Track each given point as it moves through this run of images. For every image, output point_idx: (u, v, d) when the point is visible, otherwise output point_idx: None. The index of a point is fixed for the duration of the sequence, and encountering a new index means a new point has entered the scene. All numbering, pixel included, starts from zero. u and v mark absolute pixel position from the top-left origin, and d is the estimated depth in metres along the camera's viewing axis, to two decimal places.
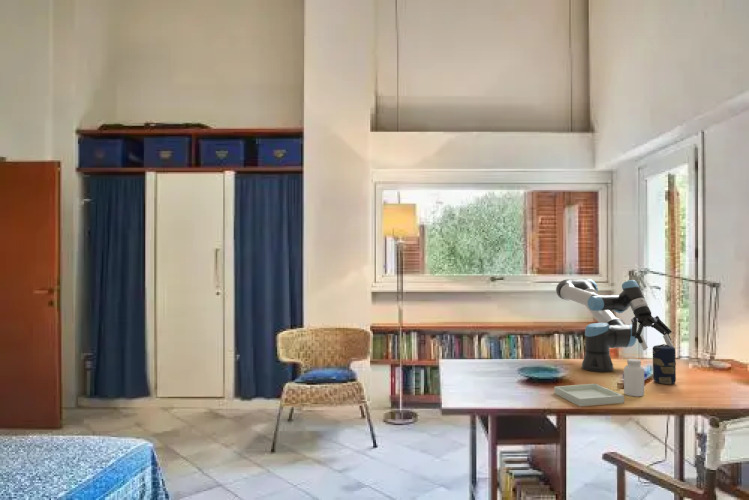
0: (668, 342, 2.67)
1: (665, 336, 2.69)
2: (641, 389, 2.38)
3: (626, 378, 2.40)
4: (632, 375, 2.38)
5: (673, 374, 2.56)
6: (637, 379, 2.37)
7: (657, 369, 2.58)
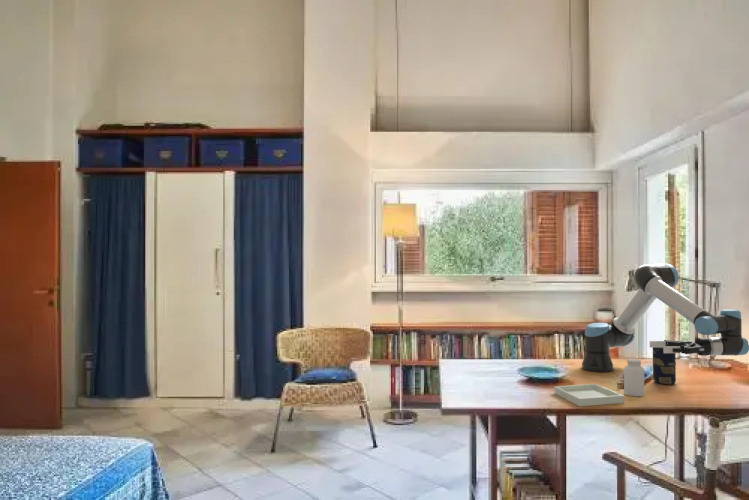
0: (656, 345, 2.47)
1: (663, 344, 2.47)
2: (641, 389, 2.38)
3: (626, 378, 2.40)
4: (632, 375, 2.38)
5: (673, 374, 2.56)
6: (637, 379, 2.37)
7: (657, 369, 2.58)
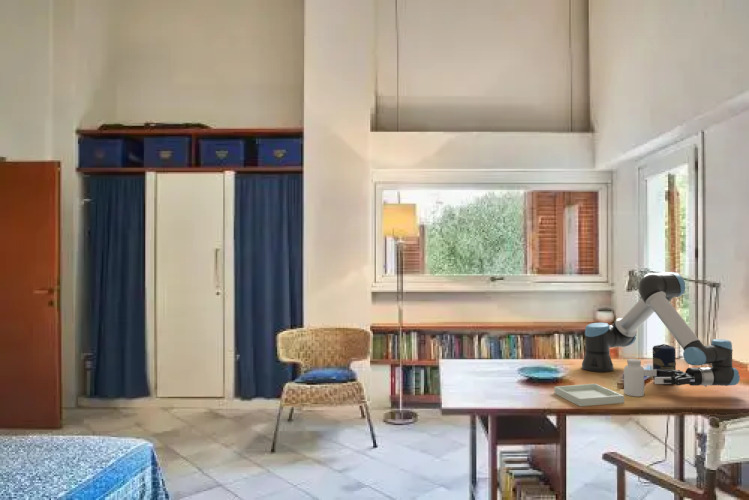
0: (647, 373, 2.47)
1: (654, 373, 2.46)
2: (641, 389, 2.38)
3: (626, 378, 2.40)
4: (632, 375, 2.38)
5: None
6: (637, 379, 2.37)
7: None
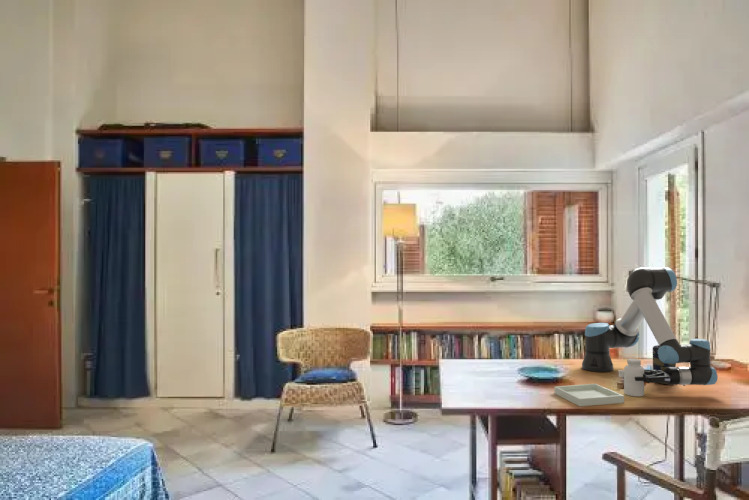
0: None
1: None
2: (641, 389, 2.38)
3: None
4: None
5: None
6: None
7: (657, 369, 2.58)
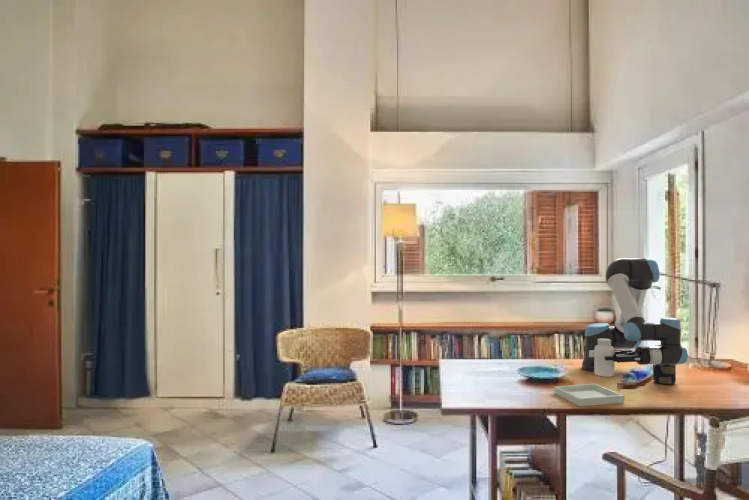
0: None
1: None
2: (611, 368, 2.33)
3: None
4: (602, 354, 2.33)
5: (673, 374, 2.56)
6: None
7: (657, 369, 2.58)
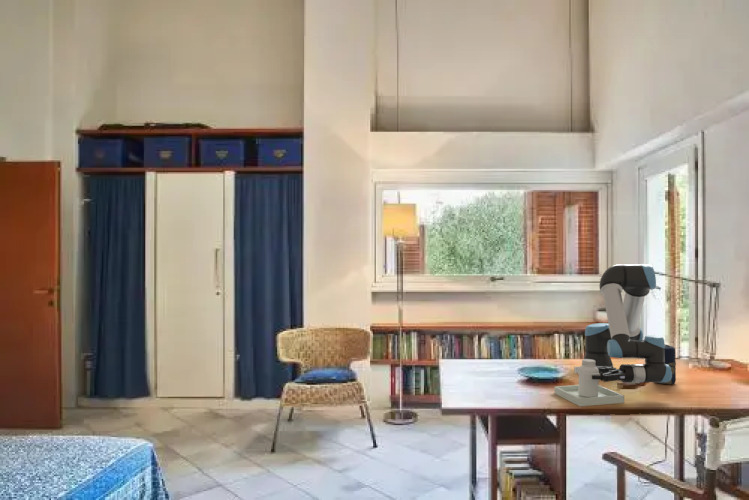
0: None
1: None
2: (595, 390, 2.33)
3: (580, 378, 2.36)
4: None
5: (673, 374, 2.56)
6: None
7: None
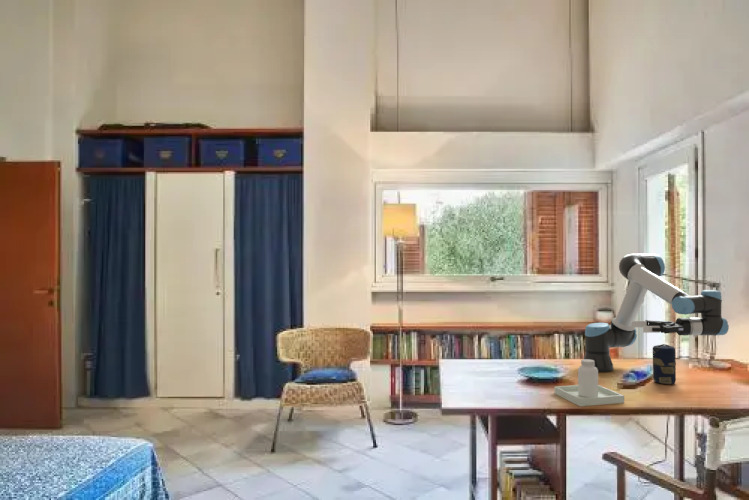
0: (637, 325, 2.49)
1: (644, 324, 2.49)
2: (595, 390, 2.33)
3: (580, 379, 2.36)
4: (585, 375, 2.34)
5: (673, 374, 2.56)
6: (590, 379, 2.33)
7: (657, 369, 2.58)
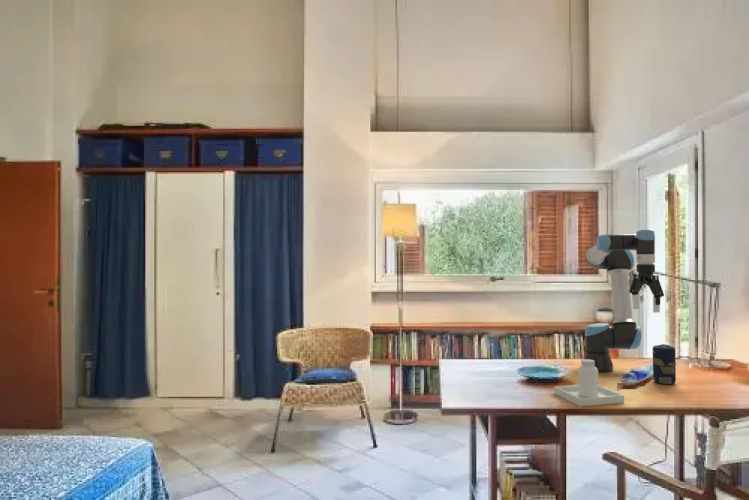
0: None
1: None
2: (595, 390, 2.33)
3: (580, 379, 2.36)
4: (585, 375, 2.34)
5: (673, 374, 2.56)
6: (590, 379, 2.33)
7: (657, 369, 2.58)
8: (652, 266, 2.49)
